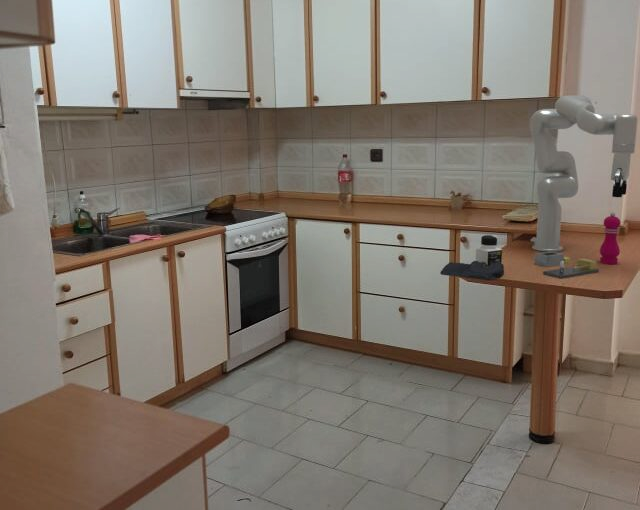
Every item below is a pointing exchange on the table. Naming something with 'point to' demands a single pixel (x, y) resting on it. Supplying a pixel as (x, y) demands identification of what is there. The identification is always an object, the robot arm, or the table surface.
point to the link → (548, 258)
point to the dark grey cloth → (474, 270)
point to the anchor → (566, 260)
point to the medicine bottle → (489, 250)
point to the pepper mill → (610, 240)
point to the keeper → (574, 269)
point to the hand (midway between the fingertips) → (619, 195)
